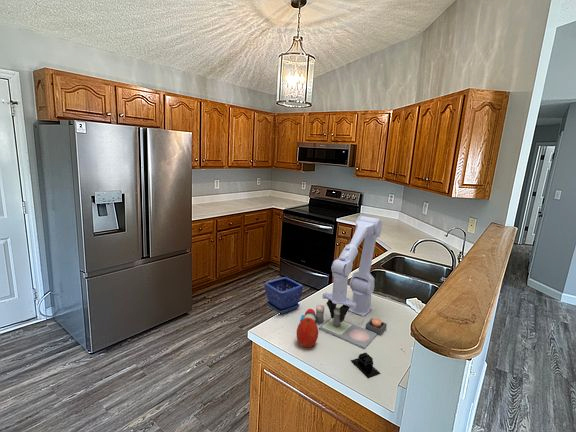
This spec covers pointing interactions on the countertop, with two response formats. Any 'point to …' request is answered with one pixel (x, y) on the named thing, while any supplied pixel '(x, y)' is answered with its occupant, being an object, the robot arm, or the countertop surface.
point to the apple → (307, 332)
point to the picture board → (349, 333)
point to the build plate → (365, 365)
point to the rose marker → (319, 314)
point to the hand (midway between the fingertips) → (337, 319)
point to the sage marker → (336, 317)
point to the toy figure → (309, 315)
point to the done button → (376, 322)
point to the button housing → (375, 329)
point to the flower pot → (283, 294)
